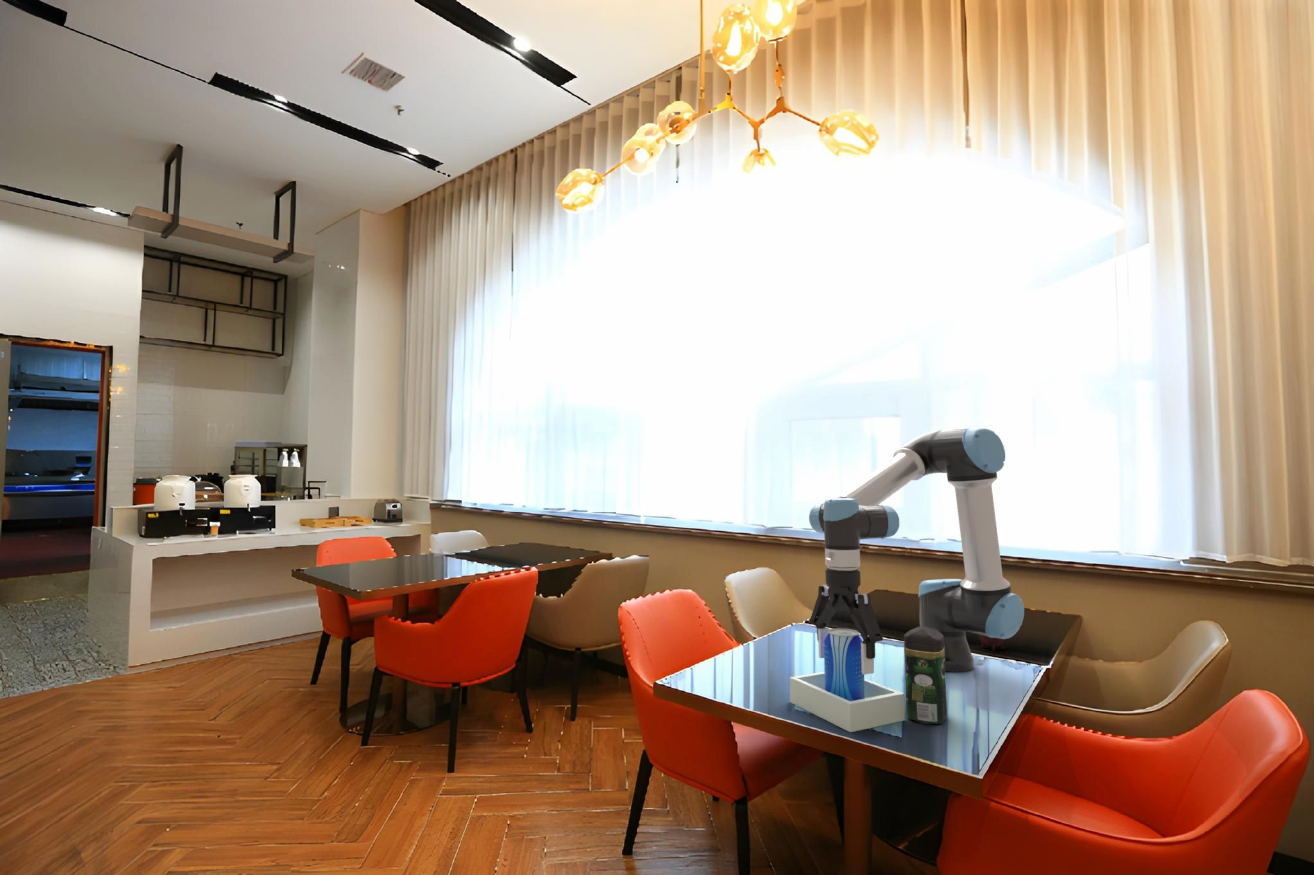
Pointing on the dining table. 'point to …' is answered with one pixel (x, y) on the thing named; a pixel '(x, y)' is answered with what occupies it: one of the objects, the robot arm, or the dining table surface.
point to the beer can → (843, 664)
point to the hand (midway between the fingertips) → (845, 665)
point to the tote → (848, 703)
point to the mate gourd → (992, 642)
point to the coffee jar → (925, 675)
